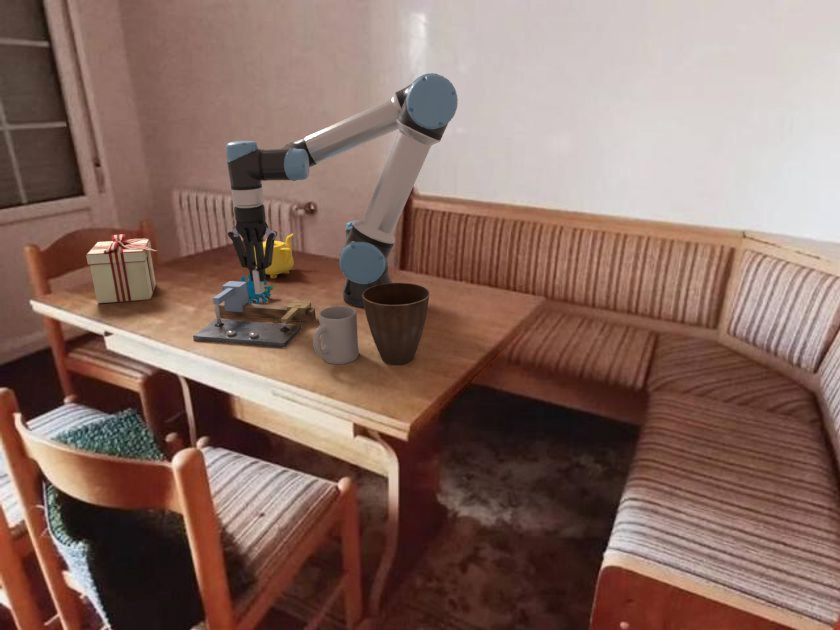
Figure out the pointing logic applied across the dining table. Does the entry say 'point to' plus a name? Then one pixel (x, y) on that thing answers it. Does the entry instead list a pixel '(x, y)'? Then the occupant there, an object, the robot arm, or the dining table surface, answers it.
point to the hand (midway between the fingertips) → (260, 292)
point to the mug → (337, 335)
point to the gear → (252, 291)
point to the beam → (267, 312)
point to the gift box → (122, 269)
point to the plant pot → (396, 319)
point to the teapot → (280, 258)
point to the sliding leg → (231, 298)
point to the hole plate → (248, 333)
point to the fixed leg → (295, 311)
